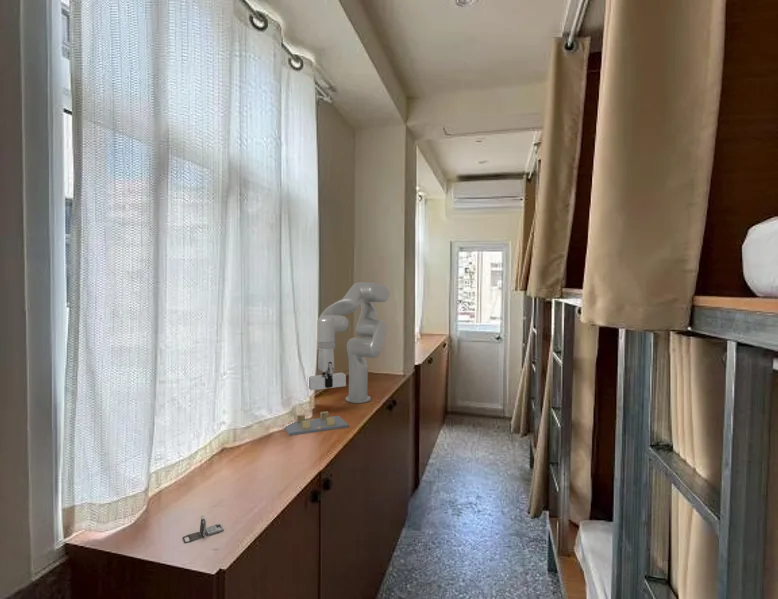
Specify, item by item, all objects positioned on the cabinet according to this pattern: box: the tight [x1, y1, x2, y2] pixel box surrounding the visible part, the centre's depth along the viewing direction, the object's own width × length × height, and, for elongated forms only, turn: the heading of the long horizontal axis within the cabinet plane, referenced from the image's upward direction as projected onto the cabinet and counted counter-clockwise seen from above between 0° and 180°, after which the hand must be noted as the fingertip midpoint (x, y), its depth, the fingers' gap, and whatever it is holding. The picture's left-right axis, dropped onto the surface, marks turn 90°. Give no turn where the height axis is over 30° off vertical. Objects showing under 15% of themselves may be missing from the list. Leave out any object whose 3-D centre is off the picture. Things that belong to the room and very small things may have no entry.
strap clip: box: [182, 515, 225, 544], centre depth 96 cm, size 8×3×4 cm, turn 126°
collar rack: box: [284, 411, 350, 436], centre depth 170 cm, size 13×24×4 cm, turn 115°
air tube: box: [308, 372, 347, 391], centre depth 185 cm, size 5×16×5 cm, turn 115°
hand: (327, 385), depth 185 cm, fingers closed on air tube, 5 cm apart
